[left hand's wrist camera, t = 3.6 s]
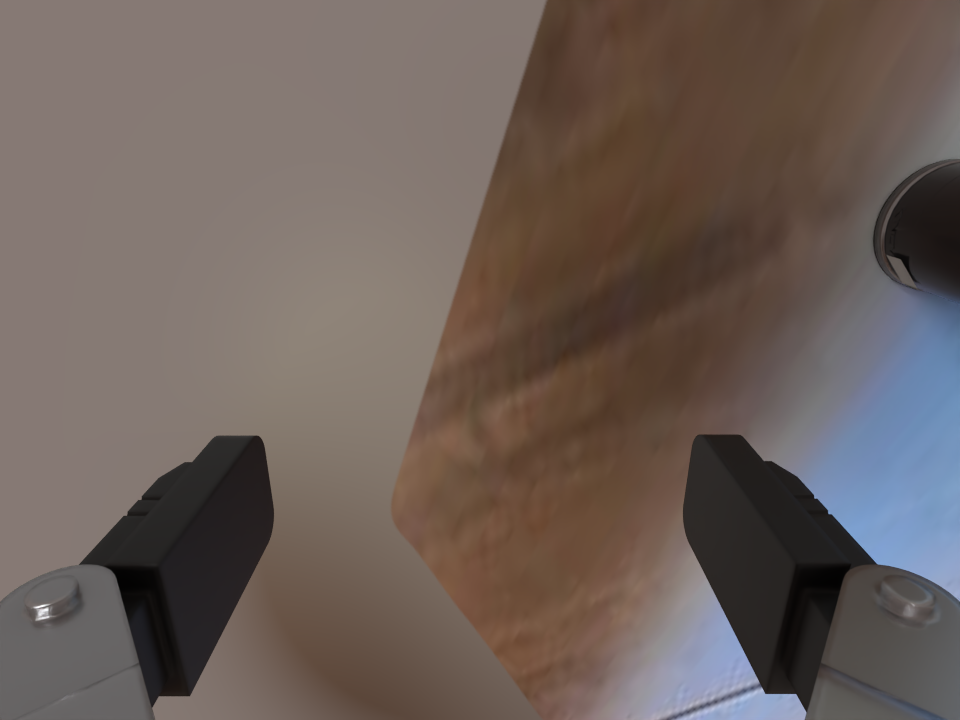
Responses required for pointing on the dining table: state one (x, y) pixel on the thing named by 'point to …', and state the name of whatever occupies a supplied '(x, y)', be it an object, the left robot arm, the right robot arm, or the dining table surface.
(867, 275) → the dining table surface
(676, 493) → the dining table surface
